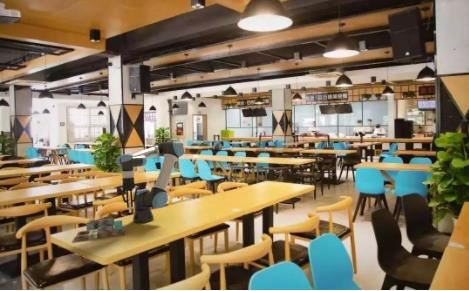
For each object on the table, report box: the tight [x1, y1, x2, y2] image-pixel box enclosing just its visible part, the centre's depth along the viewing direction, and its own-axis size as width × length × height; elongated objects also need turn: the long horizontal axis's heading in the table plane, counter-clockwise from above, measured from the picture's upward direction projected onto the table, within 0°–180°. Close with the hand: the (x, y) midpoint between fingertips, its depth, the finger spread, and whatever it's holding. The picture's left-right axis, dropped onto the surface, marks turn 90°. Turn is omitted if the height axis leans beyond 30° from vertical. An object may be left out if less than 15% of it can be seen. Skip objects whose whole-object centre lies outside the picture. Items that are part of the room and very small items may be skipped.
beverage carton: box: [85, 216, 115, 231], centre depth 253 cm, size 8×19×7 cm, turn 154°
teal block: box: [113, 219, 124, 230], centre depth 237 cm, size 5×5×5 cm
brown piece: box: [75, 219, 126, 242], centre depth 234 cm, size 29×12×9 cm, turn 106°
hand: (130, 212), depth 239 cm, fingers closed
